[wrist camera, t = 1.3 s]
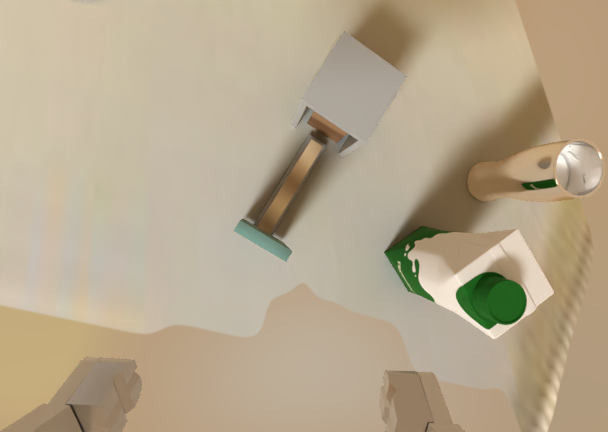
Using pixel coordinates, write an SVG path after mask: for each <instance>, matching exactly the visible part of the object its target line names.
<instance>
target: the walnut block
mask: <svg viewBox="0 0 608 432" xmlns="http://www.w3.org/2000/svg"><path fill="white" fill-rule="evenodd" d="M308 124H309V125H311V126H312V127H314V128H315V129H317V130H318V131H320V132H321V133H323V134H324V135H326V136H327V137H329V138H330V139H332V140H333V141H335V142H336V143H337V142H338V141H339V140H341V139H342V138H343V137H344V136H345V135H346V134H348V133H346V132H345V131H343V130H342V129H340V128H339V127H337V126H336V125H334V124H333V123H331V122H330V121H328V120H327V119H325V118H324V117H322V116H321V115H319V114H318V113H316V112H315V111H314V113H313V114H312V116H311V118H310V119H309V121H308Z"/></svg>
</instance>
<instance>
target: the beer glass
mask: <svg viewBox="0 0 608 432" xmlns="http://www.w3.org/2000/svg"><path fill="white" fill-rule="evenodd" d="M604 177H605V161H604V158H603V155H602V153H601V151H600V150H599V148H598V147H597V146H596V145H595V144H593V143H592V142H590V141H588V140H585V139H572V140H568V141H559V142H553V143H548V144H543V145H539V146H535V147H531V148H529V149H526V150H523V151H521V152H519V153H516V154H514V155H512V156H510V157H508V158H506V159H503V160H501V161H496V162H491V161H485V162H480V163H478V164H476V165H474V166H473V167H472V168H471V170H470V171H469V174H468V177H467V186H468V189H469V191H470V193H471V194H472V196H473V197H474V198H476V199H478V200H480V201H492V200H495V199H498V198H512V199H517V200H523V201H532V202H553V201H564V200H571V199H582V198H586V197H589V196H591V195H593V194H594V193H595V192H596V191H597V190H598V189H599V188H600V186H601V185H602V183H603V180H604Z"/></svg>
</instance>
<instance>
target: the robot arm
mask: <svg viewBox="0 0 608 432" xmlns="http://www.w3.org/2000/svg"><path fill="white" fill-rule="evenodd" d="M136 368H137V365H136V362H135V360H129V359H115V358H102V357H86V358H84V359H83V360H82V361H80V363H79V364H78V365H77V367H76V368H75V369H74V371H73V372H72V373H71V375H70V376H69V377H68V378H67V380H66V381H65V382H64V383H63V385H62V386H61V387H60V389H59V390H58V391H57V393H56V394H55V395H54V396H53V398H52V399H51V400H50V402H49V403H48V404H42V405H40V406H39V407H37V408H36V409H34V410H33V411H31V412H30V413H28V414H27V415H25V416H23V417H22V418H20V419H19V420H17V421H16V422H14V423H13V424H11V425H10V426H8V427H6V428H5V429H3V430H2V431H0V432H122V430H123V428H124V426H125V425H126V422H127V416H126V414H127V413H128V412H129V411H130V410H132V409H133V408H134V407H135V405H136V403H137V401H138V399H139V396H140V392H141V386H142V382H141V378H140V376H139V375H138V374H137V373H135V372H134V371H135V369H136ZM383 382H384V386H382V387H381V392H380V408H381V416H382V420H383V421H384V422H385V423H386V430H385V432H465V431H464V430H463V429H462V428H461V427H460V426H459V425H457V424H453V423H452V420H451V417H450V415H449V412H448V409H447V406H446V404H445V401H444V398H443V395H442V393H441V390H440V387H439V384H438V382H437V379H436V376H435V375H434V373H432V372H415V371H386V370H385V372H384V375H383Z"/></svg>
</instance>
